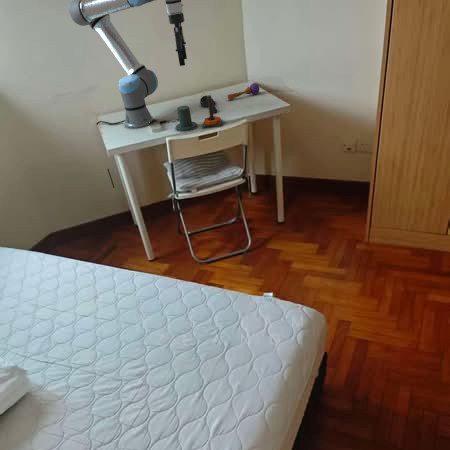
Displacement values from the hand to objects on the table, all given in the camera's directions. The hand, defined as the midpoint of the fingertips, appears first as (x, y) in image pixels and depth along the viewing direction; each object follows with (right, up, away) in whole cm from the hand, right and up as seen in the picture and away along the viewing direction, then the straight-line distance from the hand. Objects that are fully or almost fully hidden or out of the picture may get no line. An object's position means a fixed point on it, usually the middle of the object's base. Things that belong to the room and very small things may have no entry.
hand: (183, 62), depth 215 cm
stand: (+1, -32, +4) cm, 32 cm away
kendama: (+33, -2, +32) cm, 46 cm away
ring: (+15, -30, +3) cm, 33 cm away
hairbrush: (+13, -12, +25) cm, 31 cm away
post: (+15, -31, +3) cm, 34 cm away
